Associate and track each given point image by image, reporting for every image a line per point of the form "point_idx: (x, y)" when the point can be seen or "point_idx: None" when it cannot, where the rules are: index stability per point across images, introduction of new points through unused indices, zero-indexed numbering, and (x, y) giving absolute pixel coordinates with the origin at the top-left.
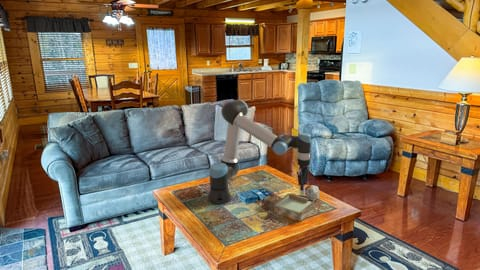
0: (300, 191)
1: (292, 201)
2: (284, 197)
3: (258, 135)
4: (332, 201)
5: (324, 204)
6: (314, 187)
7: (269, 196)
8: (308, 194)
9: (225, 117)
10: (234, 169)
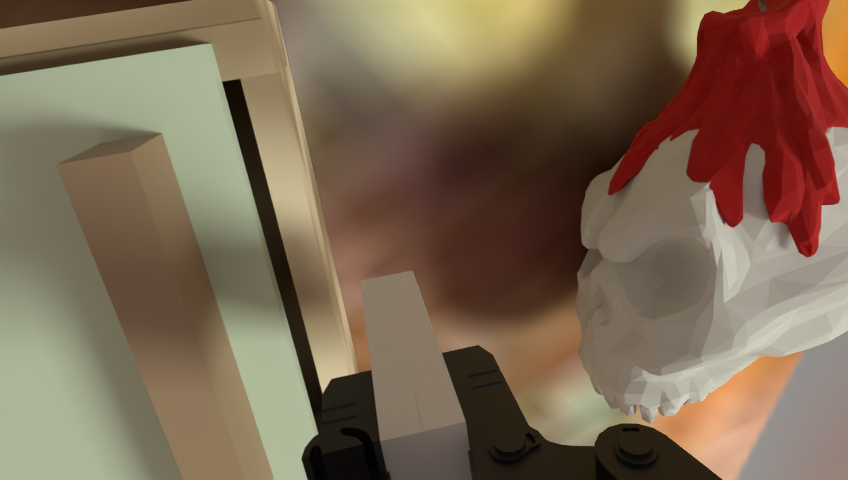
0: (366, 324)
1: (51, 302)
2: (16, 55)
3: None
4: (722, 406)
5: (595, 398)
6: (790, 330)
7: None
8: (601, 250)
9: None
10: None
